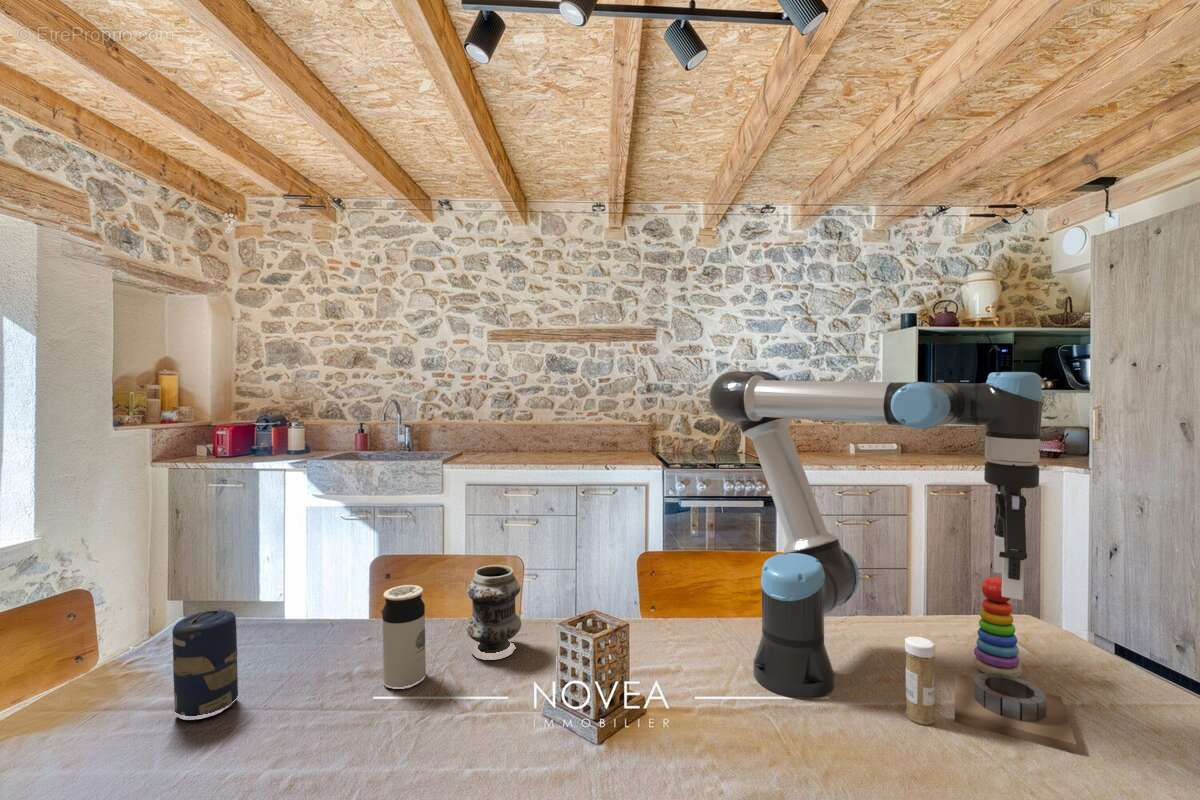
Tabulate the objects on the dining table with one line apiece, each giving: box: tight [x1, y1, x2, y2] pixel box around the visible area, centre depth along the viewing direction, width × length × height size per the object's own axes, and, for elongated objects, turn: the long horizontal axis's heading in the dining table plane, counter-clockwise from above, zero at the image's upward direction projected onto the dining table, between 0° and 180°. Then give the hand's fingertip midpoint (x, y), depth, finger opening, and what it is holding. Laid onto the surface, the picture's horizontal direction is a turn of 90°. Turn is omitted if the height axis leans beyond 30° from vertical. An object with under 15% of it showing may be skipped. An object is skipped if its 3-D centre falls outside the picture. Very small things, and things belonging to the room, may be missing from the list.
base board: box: [954, 672, 1078, 755], centre depth 97 cm, size 16×16×2 cm
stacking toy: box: [972, 576, 1023, 678], centre depth 111 cm, size 8×8×19 cm
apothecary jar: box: [465, 564, 522, 653], centre depth 122 cm, size 12×12×18 cm
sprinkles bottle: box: [904, 636, 936, 726], centre depth 96 cm, size 5×5×14 cm
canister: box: [172, 609, 239, 716], centre depth 100 cm, size 10×10×18 cm
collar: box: [973, 672, 1046, 722], centre depth 97 cm, size 10×10×3 cm
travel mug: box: [381, 584, 427, 687], centre depth 110 cm, size 8×8×18 cm
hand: (1007, 584), depth 95 cm, fingers open, 13 cm apart
